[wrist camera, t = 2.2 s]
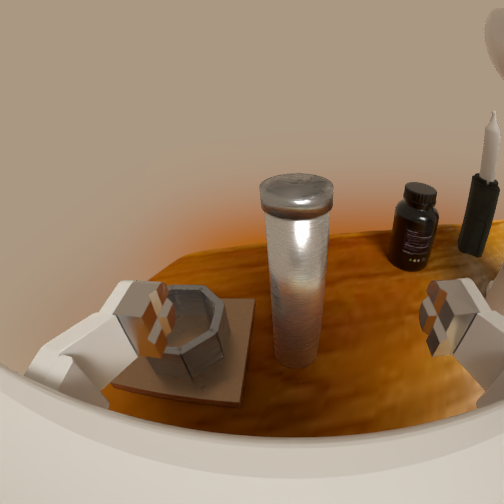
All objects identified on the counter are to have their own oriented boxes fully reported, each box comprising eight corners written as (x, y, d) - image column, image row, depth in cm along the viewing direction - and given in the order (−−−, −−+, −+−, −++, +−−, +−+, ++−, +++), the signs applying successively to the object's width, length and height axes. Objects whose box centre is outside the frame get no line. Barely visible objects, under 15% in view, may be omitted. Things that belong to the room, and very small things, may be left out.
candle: (458, 251, 39) (482, 107, 26) (457, 237, 43) (478, 106, 29) (481, 258, 37) (511, 116, 23) (480, 244, 40) (504, 114, 26)
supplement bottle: (384, 246, 43) (394, 177, 36) (421, 249, 41) (435, 181, 35) (390, 272, 38) (404, 194, 31) (431, 274, 36) (450, 200, 29)
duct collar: (255, 305, 35) (251, 272, 32) (241, 407, 23) (232, 380, 21) (153, 302, 37) (142, 272, 34) (114, 387, 25) (91, 359, 23)
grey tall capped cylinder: (318, 332, 30) (327, 173, 20) (320, 369, 26) (339, 198, 16) (273, 333, 31) (262, 174, 21) (271, 370, 27) (256, 200, 17)
